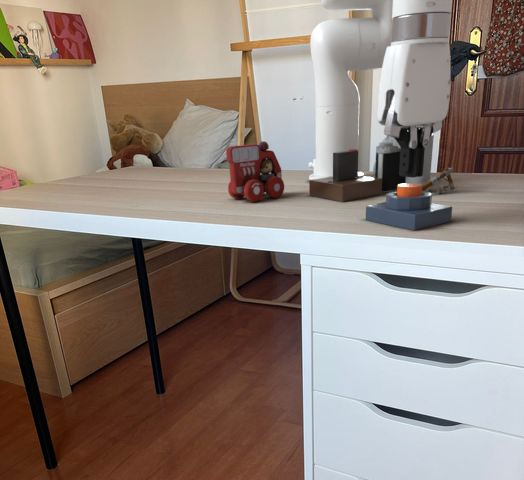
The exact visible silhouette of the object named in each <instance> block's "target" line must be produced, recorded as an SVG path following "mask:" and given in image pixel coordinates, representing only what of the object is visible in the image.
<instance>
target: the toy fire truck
mask: <svg viewBox="0 0 524 480" xmlns="http://www.w3.org/2000/svg"><path fill="white" fill-rule="evenodd" d="M269 149H270V146H269V144H268V142H267V141H261V142H259V143H258V144H256V143H255V144H254V143H251V144H240V145H232V146H231V145H230V146H228V147H227V148H226V150H225V154H226V155H225V156H226V161H227V162H228V167H229V178H230V181H229V183H228V185H227V191H228V194H229V196H230V197H231V198H233V199H235V200H242V199H244V198H245V199H246V200H247V201H249V202H253V203H256V202H259V201H260V200H261V199H262V198H263V196H264V194H265V193H266V195H267V196H268V197H269V198H273V199H279V198H280V197H281V196H282V195H283V194H284V192H285V182H284V180H283V178H282V167H281V164H280V162H279V161H278V158H277V156H276V154H275V152H274V150H269Z"/></svg>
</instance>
